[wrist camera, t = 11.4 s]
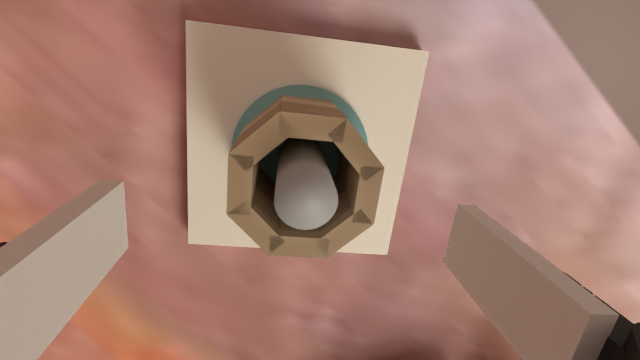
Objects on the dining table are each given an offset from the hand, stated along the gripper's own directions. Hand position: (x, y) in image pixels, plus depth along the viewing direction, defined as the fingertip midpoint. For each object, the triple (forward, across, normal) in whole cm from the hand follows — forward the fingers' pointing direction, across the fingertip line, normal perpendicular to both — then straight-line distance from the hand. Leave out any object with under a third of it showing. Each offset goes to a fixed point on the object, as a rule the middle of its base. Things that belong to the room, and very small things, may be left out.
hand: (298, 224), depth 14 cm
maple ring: (+9, 0, +1) cm, 9 cm away
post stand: (+10, 0, +1) cm, 10 cm away
